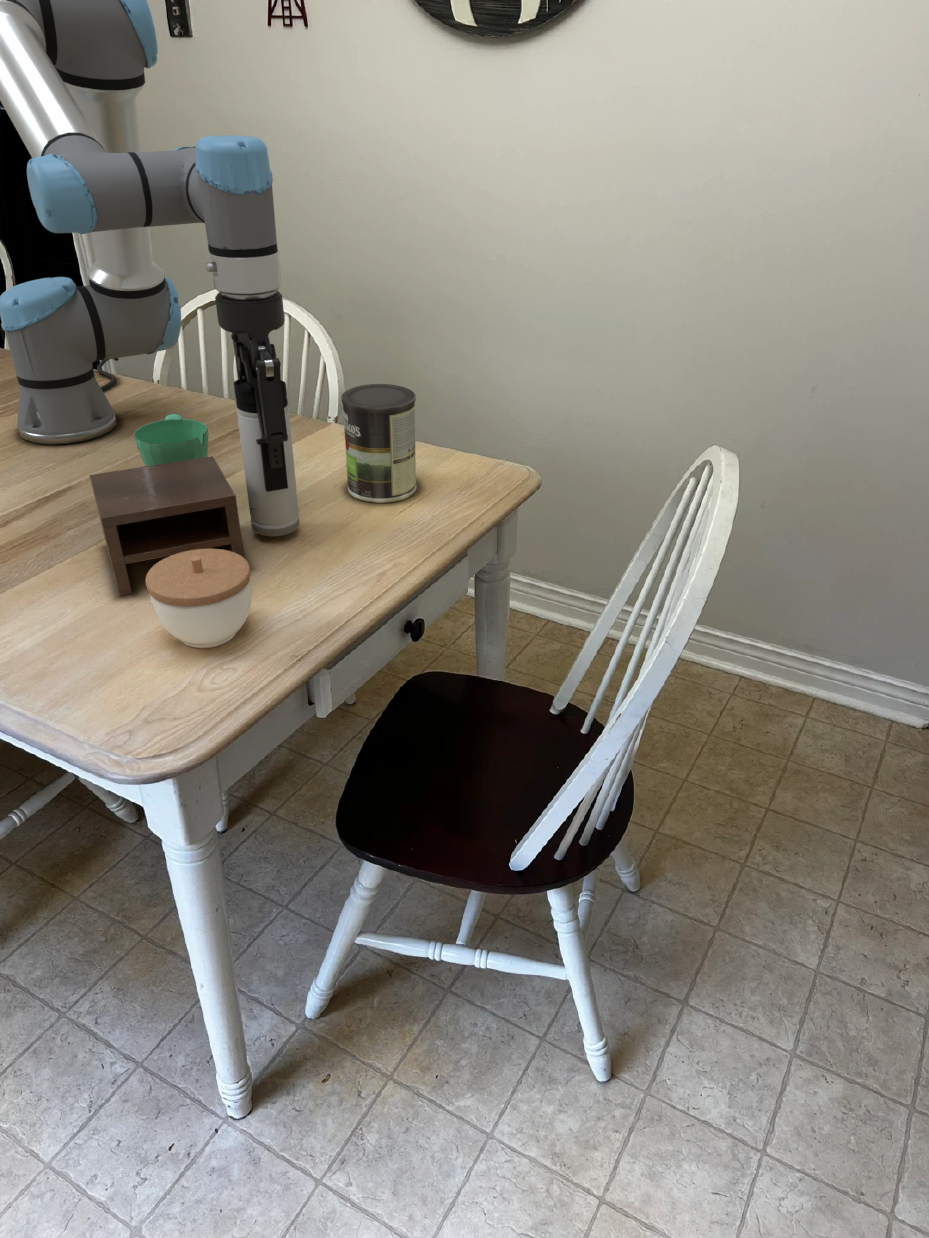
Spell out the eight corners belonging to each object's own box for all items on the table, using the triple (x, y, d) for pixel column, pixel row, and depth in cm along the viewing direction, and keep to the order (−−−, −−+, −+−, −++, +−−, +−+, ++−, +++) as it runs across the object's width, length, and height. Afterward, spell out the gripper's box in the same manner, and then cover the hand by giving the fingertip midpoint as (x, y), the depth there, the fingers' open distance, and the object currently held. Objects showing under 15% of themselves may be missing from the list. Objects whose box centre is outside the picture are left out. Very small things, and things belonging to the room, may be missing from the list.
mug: (219, 508, 122) (208, 440, 117) (145, 515, 120) (131, 447, 115) (215, 468, 134) (205, 405, 129) (148, 474, 132) (136, 410, 127)
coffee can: (358, 508, 123) (352, 411, 115) (340, 479, 131) (333, 387, 123) (427, 497, 126) (425, 402, 118) (405, 470, 134) (402, 380, 127)
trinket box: (137, 639, 95) (119, 564, 90) (211, 597, 102) (199, 526, 97) (205, 672, 90) (191, 595, 85) (278, 626, 97) (269, 552, 92)
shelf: (107, 548, 112) (89, 475, 107) (223, 526, 118) (212, 456, 112) (119, 596, 102) (100, 518, 97) (246, 570, 108) (235, 495, 102)
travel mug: (241, 533, 114) (220, 383, 103) (266, 512, 119) (249, 367, 108) (284, 541, 112) (267, 390, 101) (308, 520, 117) (295, 373, 106)
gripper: (198, 276, 105) (224, 455, 118) (234, 315, 91) (259, 514, 103) (260, 271, 108) (278, 447, 120) (304, 308, 93) (320, 503, 106)
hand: (269, 478), depth 112 cm, fingers closed on travel mug, 6 cm apart
